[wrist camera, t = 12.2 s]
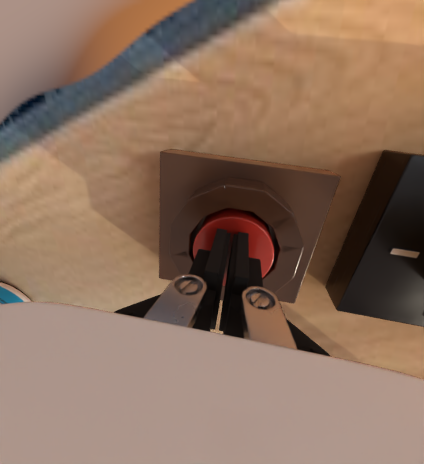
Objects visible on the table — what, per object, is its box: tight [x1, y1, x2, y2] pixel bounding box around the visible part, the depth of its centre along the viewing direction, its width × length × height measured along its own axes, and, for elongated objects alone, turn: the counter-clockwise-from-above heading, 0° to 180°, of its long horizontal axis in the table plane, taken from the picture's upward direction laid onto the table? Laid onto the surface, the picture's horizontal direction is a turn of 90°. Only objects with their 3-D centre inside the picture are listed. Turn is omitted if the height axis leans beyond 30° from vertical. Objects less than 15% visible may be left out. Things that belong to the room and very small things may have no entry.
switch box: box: [159, 149, 341, 303], centre depth 14 cm, size 10×9×4 cm
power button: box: [193, 208, 274, 286], centre depth 13 cm, size 4×4×2 cm
